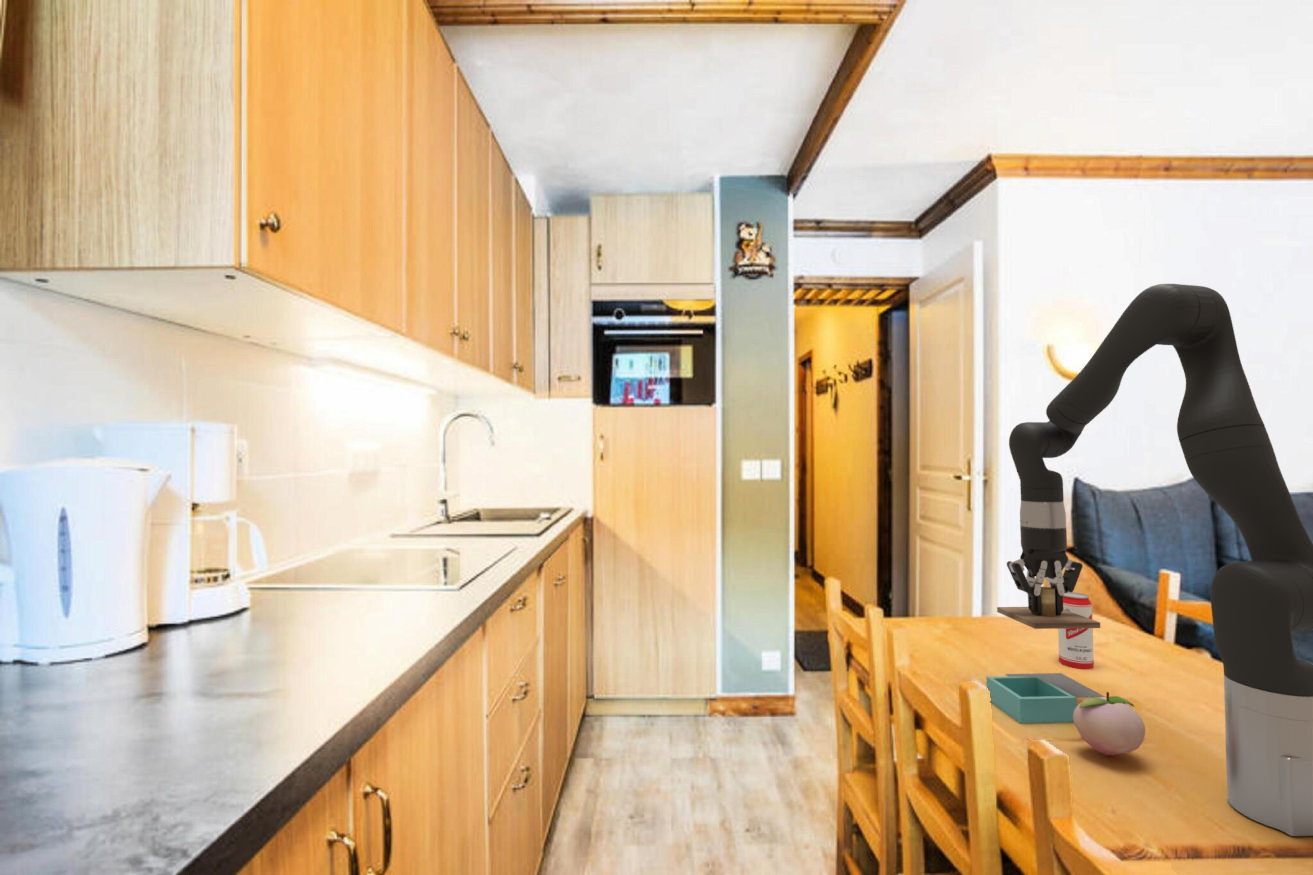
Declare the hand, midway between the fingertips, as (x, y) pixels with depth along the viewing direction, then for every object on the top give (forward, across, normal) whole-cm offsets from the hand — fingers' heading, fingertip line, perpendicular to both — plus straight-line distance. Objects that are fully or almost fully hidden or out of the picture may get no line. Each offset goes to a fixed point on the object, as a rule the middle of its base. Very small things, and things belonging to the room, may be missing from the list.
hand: (1046, 613), depth 114 cm
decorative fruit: (+17, -4, -21) cm, 27 cm away
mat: (+16, +4, +5) cm, 18 cm away
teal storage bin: (+17, -8, -6) cm, 19 cm away
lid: (+1, 0, 0) cm, 1 cm away
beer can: (+16, +17, +17) cm, 29 cm away
